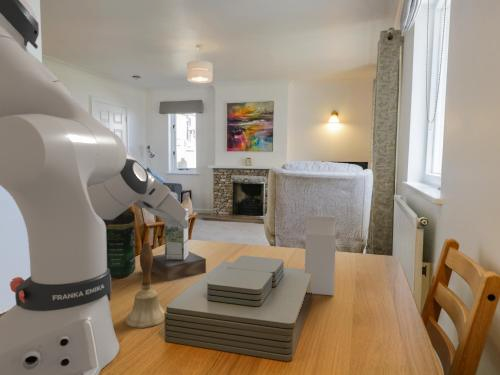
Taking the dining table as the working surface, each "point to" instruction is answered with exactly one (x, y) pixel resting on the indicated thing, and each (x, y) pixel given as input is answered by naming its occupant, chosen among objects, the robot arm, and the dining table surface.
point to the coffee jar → (121, 245)
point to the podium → (178, 266)
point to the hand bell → (146, 296)
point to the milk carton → (320, 253)
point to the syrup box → (176, 240)
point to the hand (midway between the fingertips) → (179, 224)
